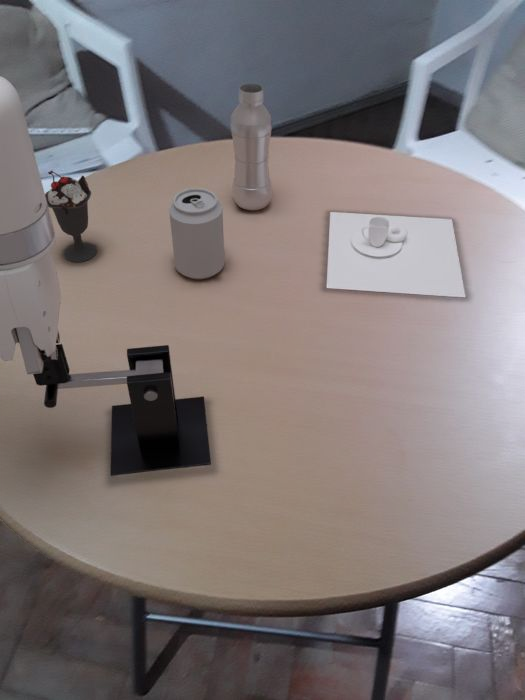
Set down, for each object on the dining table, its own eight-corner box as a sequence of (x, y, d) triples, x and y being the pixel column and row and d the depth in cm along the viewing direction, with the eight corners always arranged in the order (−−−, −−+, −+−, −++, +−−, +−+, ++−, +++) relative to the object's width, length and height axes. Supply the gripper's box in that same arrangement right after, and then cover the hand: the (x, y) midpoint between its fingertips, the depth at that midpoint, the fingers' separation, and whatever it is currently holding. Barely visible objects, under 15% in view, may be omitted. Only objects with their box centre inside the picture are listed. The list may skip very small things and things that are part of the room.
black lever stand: (112, 480, 75) (92, 405, 66) (113, 412, 82) (95, 335, 73) (211, 469, 76) (205, 393, 67) (204, 402, 83) (197, 326, 74)
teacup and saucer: (405, 231, 109) (409, 209, 107) (408, 261, 104) (412, 239, 101) (350, 227, 110) (353, 206, 107) (350, 257, 104) (353, 235, 101)
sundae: (53, 265, 102) (30, 177, 92) (64, 239, 107) (43, 152, 97) (97, 266, 102) (78, 178, 92) (106, 240, 107) (89, 153, 97)
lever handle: (46, 412, 69) (41, 396, 67) (50, 370, 73) (46, 354, 71) (165, 403, 70) (163, 387, 69) (163, 362, 75) (161, 346, 73)
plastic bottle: (260, 219, 112) (260, 101, 97) (225, 208, 114) (220, 91, 100) (278, 200, 116) (281, 85, 102) (244, 190, 118) (242, 75, 104)
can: (207, 246, 106) (203, 178, 98) (234, 270, 102) (232, 201, 93) (165, 263, 103) (157, 194, 95) (192, 289, 99) (186, 219, 90)
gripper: (-26, 185, 62) (24, 332, 75) (-58, 289, 51) (7, 440, 64) (58, 179, 63) (93, 326, 75) (44, 280, 52) (87, 431, 65)
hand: (53, 378), depth 70 cm, fingers closed
